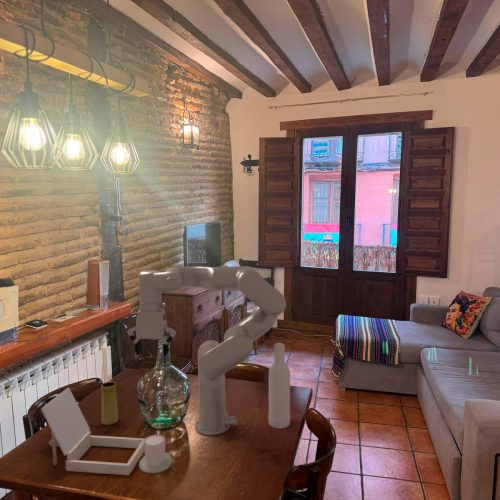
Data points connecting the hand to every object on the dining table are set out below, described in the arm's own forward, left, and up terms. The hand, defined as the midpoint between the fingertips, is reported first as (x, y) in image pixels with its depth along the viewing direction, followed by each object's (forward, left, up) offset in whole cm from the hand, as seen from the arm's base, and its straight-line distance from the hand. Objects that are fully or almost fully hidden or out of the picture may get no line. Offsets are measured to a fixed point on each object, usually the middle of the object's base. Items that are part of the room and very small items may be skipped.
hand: (152, 354), depth 152 cm
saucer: (-7, +19, -28) cm, 35 cm away
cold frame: (+13, +18, -28) cm, 36 cm away
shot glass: (-7, +19, -28) cm, 34 cm away
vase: (+19, -5, -28) cm, 35 cm away
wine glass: (+30, +10, -28) cm, 43 cm away
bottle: (-44, -10, -28) cm, 53 cm away
